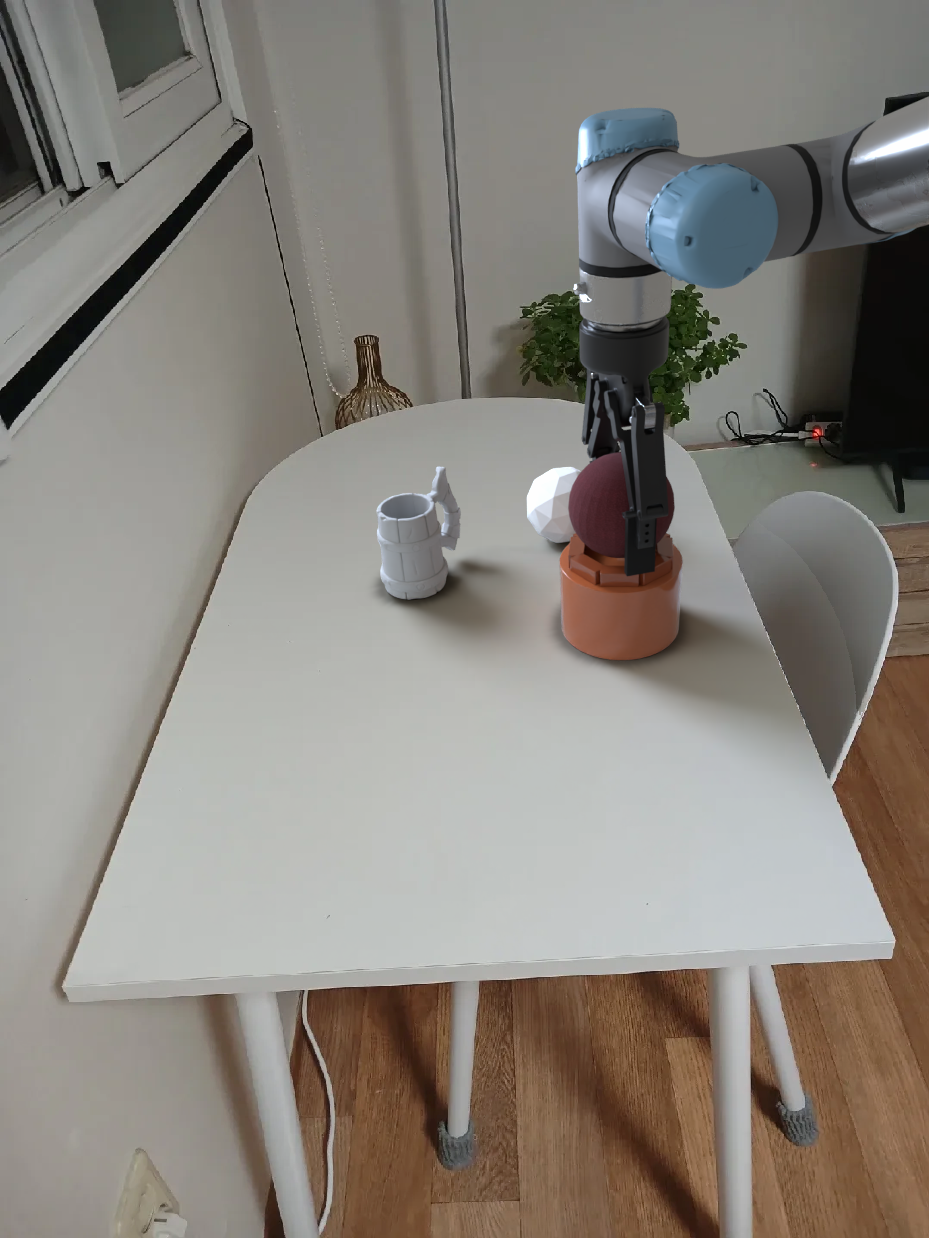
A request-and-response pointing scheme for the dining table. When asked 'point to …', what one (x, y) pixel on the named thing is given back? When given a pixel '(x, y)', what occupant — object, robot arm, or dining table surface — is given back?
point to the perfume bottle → (552, 504)
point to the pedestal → (619, 602)
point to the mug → (417, 539)
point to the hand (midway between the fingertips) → (620, 543)
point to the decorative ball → (606, 506)
